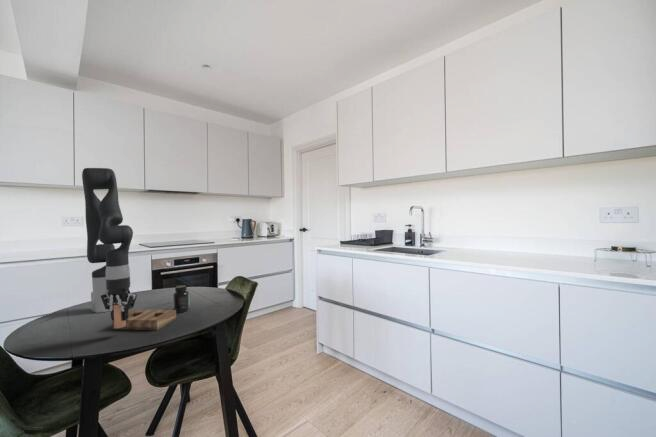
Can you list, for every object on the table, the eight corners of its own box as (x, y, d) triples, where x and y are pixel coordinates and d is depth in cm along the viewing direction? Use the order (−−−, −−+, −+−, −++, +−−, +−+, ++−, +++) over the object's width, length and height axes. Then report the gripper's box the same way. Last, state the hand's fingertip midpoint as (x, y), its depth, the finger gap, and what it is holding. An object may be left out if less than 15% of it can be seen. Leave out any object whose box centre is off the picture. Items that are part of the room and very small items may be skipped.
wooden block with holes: (112, 329, 116) (112, 319, 116) (135, 318, 128) (135, 309, 127) (157, 330, 114) (157, 320, 114) (176, 318, 126) (175, 309, 125)
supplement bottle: (192, 308, 139) (191, 284, 139) (184, 313, 132) (183, 288, 132) (179, 308, 140) (178, 284, 139) (170, 313, 133) (169, 288, 133)
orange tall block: (112, 328, 107) (110, 305, 107) (119, 324, 111) (118, 302, 111) (120, 328, 107) (119, 305, 107) (128, 324, 111) (127, 302, 110)
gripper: (92, 278, 105) (94, 323, 106) (126, 279, 104) (128, 324, 104) (109, 274, 113) (111, 315, 113) (142, 274, 111) (143, 316, 112)
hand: (119, 319), depth 109 cm, fingers closed on orange tall block, 3 cm apart
